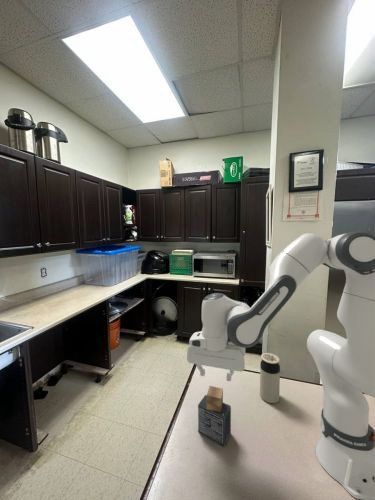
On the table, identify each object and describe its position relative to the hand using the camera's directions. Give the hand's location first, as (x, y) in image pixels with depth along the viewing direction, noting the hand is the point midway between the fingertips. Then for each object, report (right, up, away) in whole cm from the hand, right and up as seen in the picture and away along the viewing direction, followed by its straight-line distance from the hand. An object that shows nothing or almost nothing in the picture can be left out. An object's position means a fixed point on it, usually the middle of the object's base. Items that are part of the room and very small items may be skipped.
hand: (215, 377), depth 74 cm
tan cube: (0, -10, +1) cm, 11 cm away
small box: (0, -21, +1) cm, 21 cm away
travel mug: (+26, -20, +18) cm, 38 cm away
